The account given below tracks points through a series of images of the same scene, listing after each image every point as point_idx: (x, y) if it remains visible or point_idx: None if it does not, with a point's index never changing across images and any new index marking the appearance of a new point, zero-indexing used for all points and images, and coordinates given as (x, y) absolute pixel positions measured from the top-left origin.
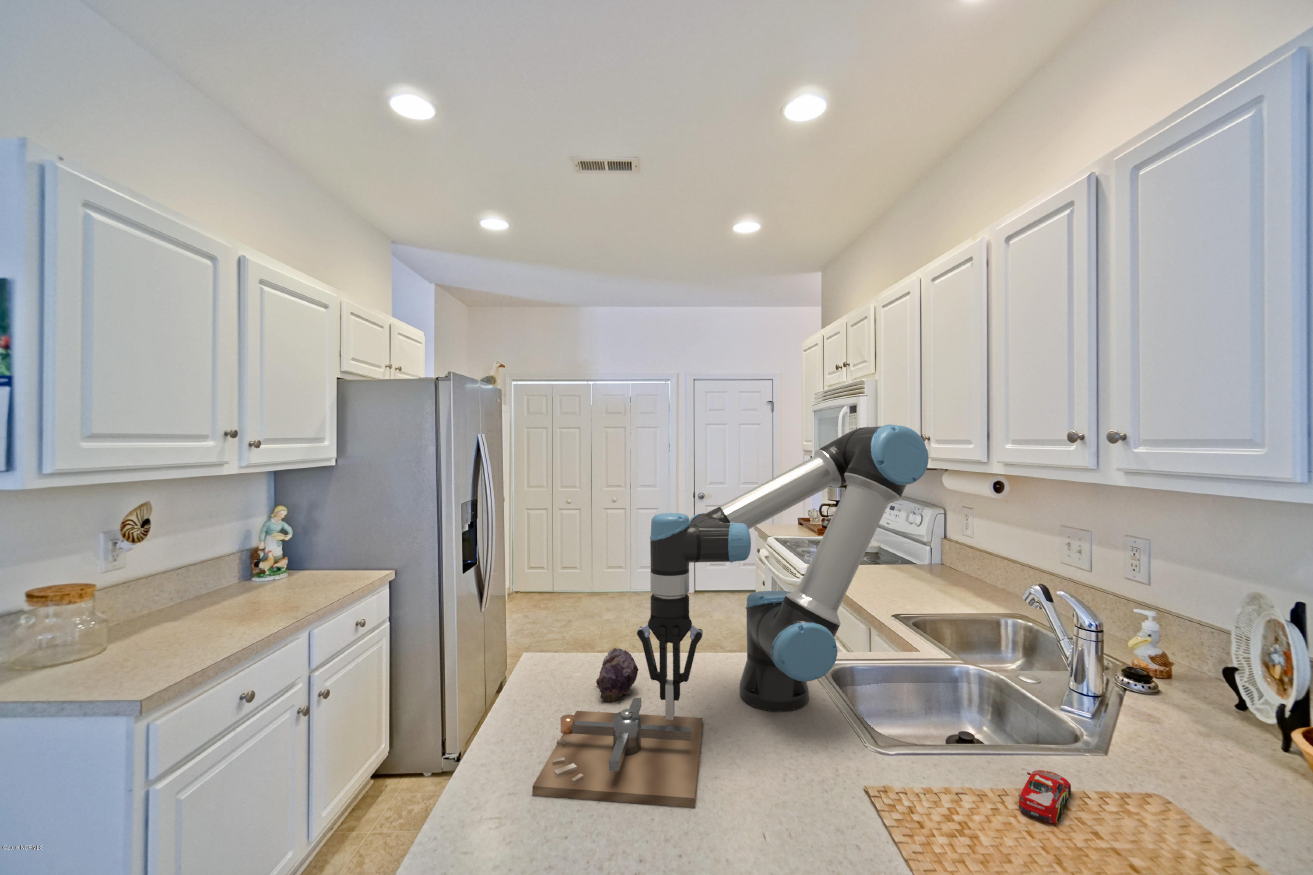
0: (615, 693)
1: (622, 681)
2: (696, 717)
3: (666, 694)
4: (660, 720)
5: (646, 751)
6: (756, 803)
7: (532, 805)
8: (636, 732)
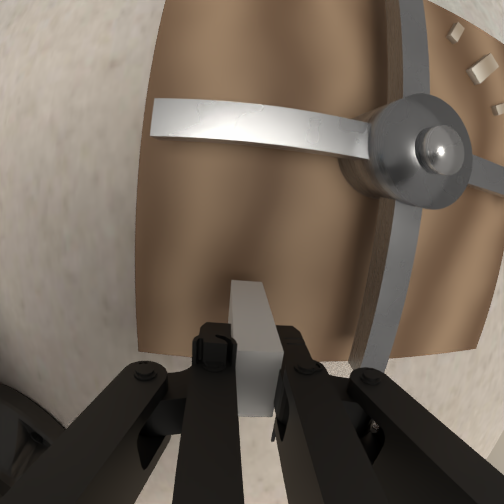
0: None
1: None
2: (158, 353)
3: (269, 324)
4: None
5: None
6: (53, 2)
7: (485, 24)
8: (376, 112)
